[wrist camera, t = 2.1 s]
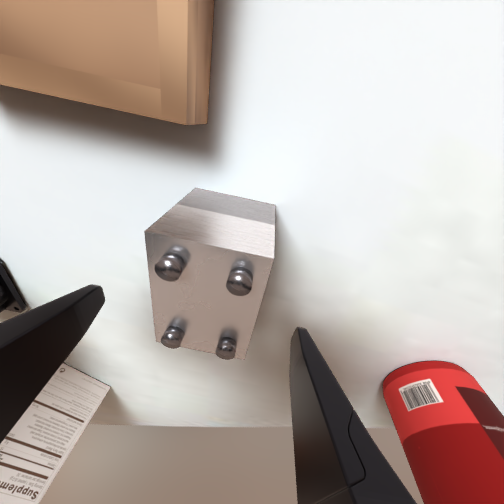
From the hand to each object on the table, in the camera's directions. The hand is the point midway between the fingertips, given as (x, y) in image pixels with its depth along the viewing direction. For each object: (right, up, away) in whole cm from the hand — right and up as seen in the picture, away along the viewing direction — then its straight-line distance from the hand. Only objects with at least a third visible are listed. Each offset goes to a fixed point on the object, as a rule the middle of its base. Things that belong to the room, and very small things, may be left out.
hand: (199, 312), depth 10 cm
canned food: (+19, -10, +12) cm, 25 cm away
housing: (+1, +3, +5) cm, 6 cm away
